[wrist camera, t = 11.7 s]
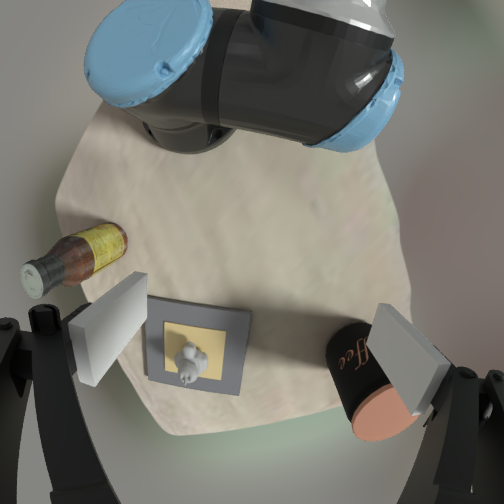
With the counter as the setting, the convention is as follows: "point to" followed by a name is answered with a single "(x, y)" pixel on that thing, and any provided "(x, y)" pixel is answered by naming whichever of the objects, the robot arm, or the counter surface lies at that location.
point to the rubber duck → (190, 363)
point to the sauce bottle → (74, 259)
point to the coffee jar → (365, 386)
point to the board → (196, 343)
